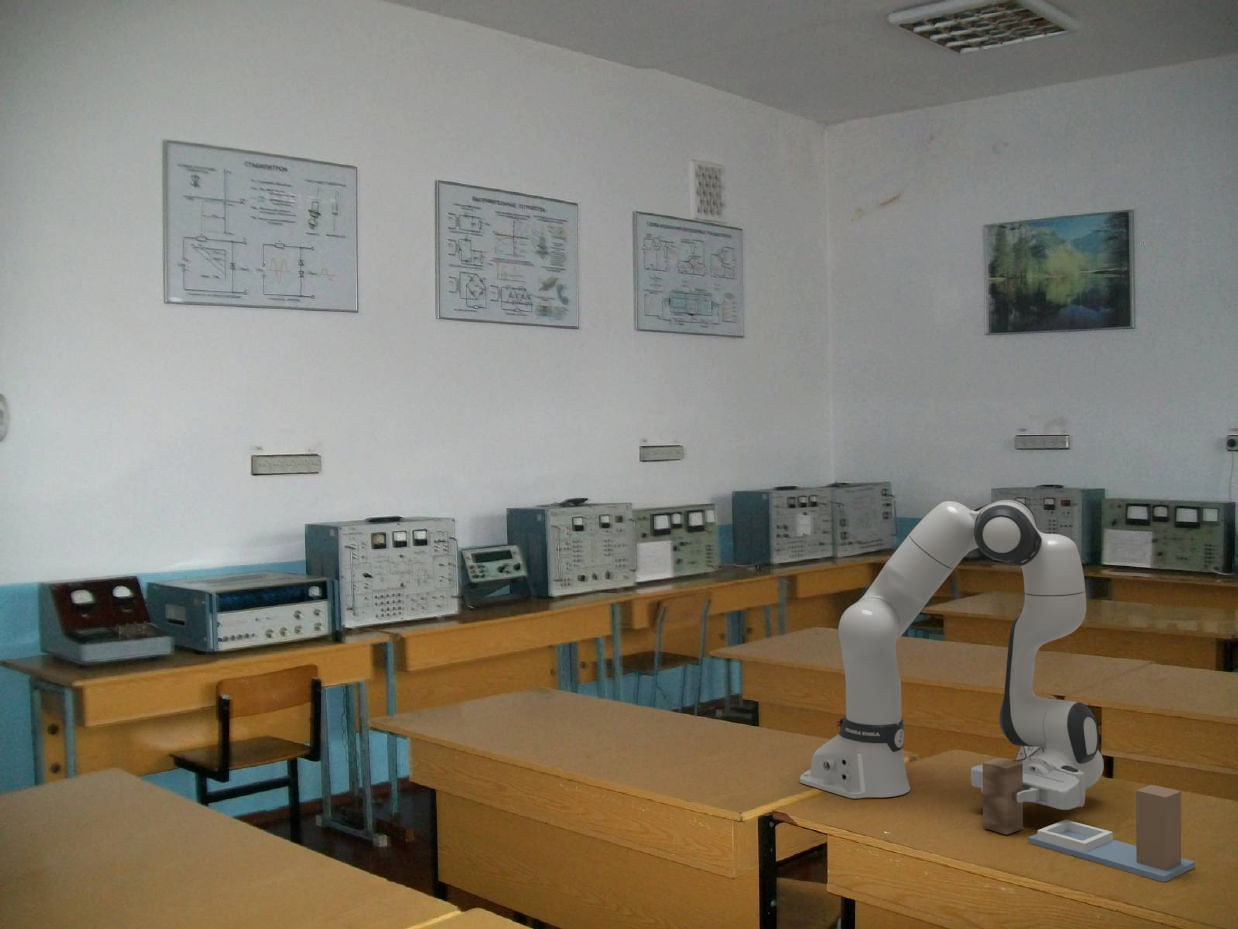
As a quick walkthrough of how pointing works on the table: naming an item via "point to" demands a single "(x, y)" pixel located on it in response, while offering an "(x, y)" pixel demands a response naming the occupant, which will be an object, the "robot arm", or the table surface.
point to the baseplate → (1148, 858)
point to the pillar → (1002, 795)
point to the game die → (1028, 752)
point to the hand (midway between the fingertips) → (999, 793)
